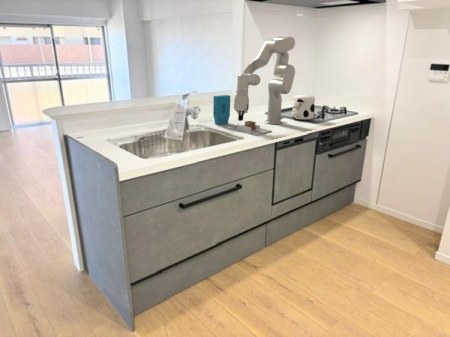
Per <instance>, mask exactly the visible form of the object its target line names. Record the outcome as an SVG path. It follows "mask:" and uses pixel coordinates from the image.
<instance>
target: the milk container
mask: <svg viewBox="0 0 450 337" xmlns="http://www.w3.org/2000/svg"><path fill="white" fill-rule="evenodd" d="M315 100H316V98H315V96H313V95H305V94H302V95H301V94H299V95H294V97H293V107H292V111H291V117H292V119H294V120H295V121H296V120H297V121H310V120H309V119H311V120H313V119H314V117H315V109H314V108H315V107H314V106H315ZM312 118H313V119H312Z"/></svg>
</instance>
